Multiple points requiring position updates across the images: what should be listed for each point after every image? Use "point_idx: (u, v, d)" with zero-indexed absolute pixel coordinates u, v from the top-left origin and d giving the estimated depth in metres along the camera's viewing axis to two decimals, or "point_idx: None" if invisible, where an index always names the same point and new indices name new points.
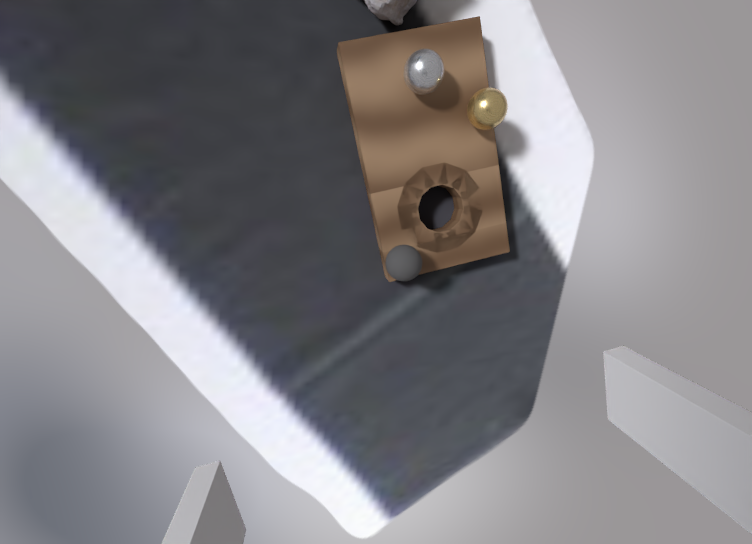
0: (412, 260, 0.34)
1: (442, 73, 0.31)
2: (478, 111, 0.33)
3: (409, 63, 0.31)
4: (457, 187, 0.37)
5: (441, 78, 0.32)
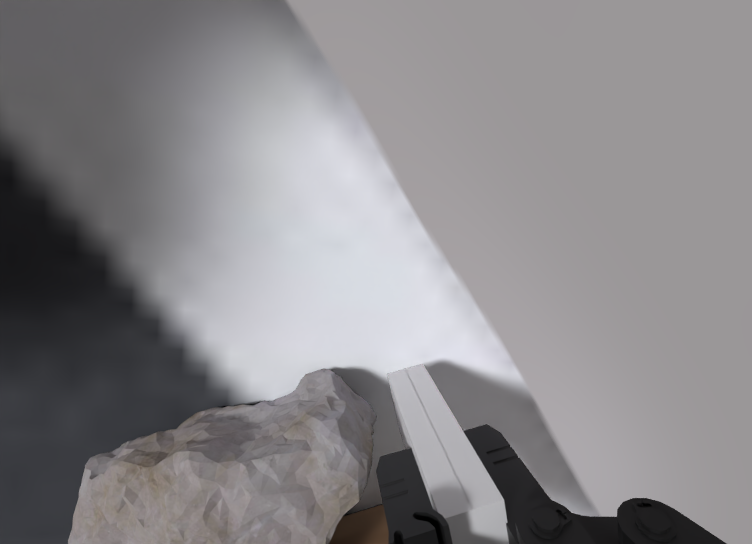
0: None
1: None
2: None
3: None
4: None
5: None
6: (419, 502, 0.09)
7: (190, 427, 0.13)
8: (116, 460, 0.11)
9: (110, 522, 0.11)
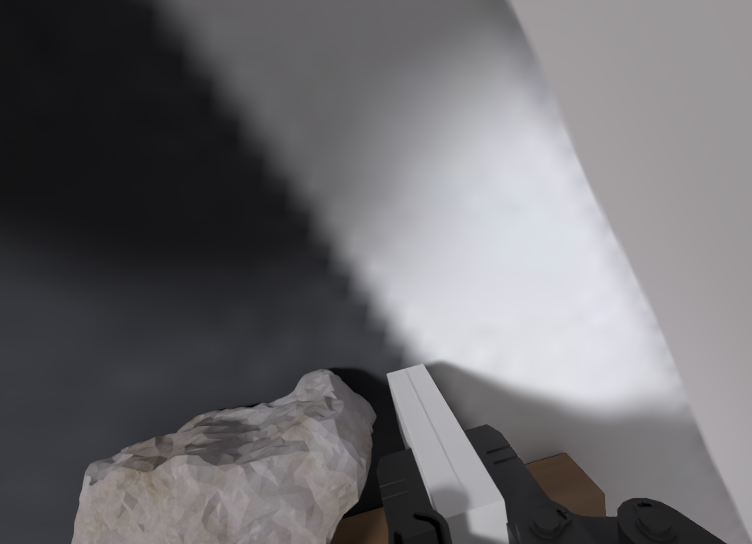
0: None
1: None
2: None
3: None
4: None
5: None
6: (419, 503, 0.09)
7: (189, 431, 0.13)
8: (115, 466, 0.11)
9: (111, 528, 0.11)
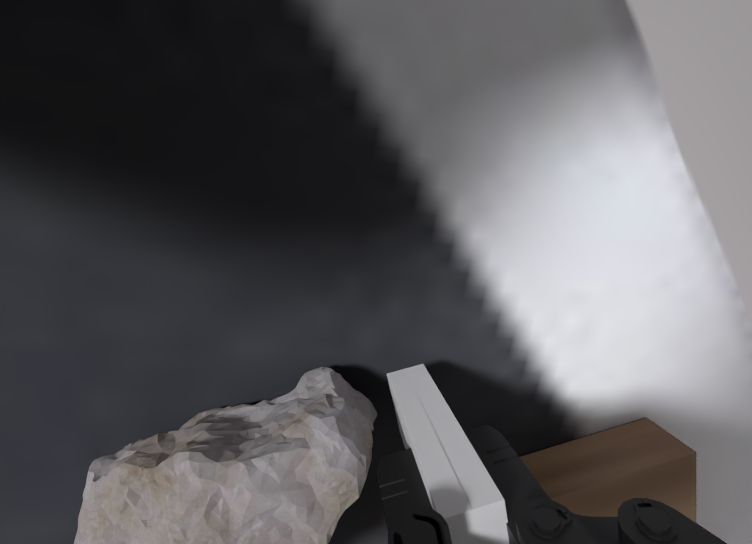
0: None
1: None
2: None
3: None
4: None
5: None
6: (418, 503, 0.09)
7: (191, 428, 0.13)
8: (118, 462, 0.11)
9: (114, 523, 0.11)
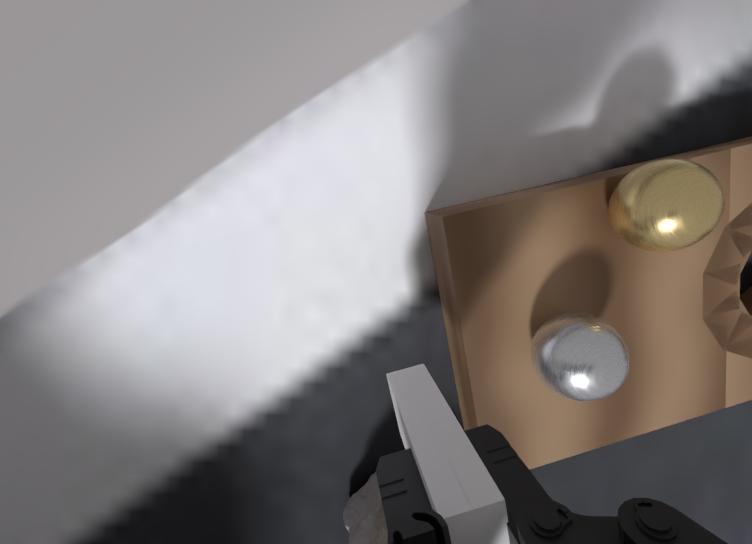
0: None
1: (608, 334, 0.14)
2: (694, 243, 0.14)
3: None
4: None
5: (613, 332, 0.14)
6: (418, 503, 0.09)
7: None
8: None
9: None
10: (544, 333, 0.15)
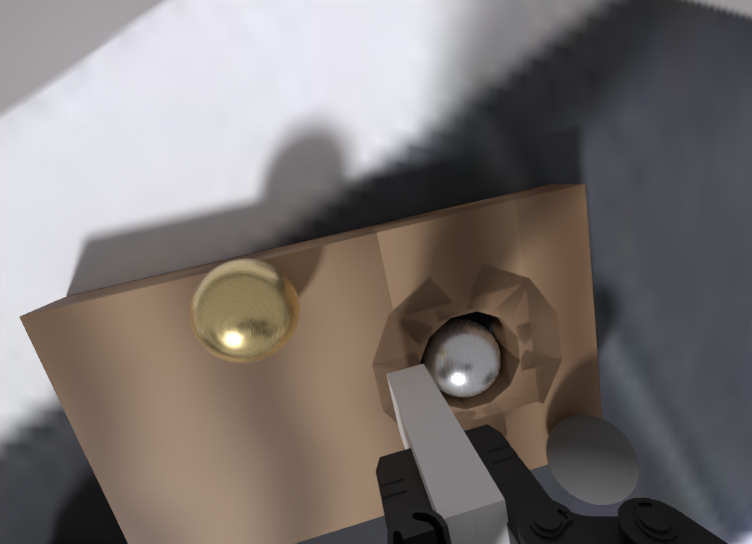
0: (607, 478, 0.15)
1: (483, 327, 0.17)
2: (257, 358, 0.12)
3: (479, 393, 0.17)
4: (427, 329, 0.16)
5: (481, 325, 0.17)
6: (418, 503, 0.09)
7: None
8: None
9: None
10: (445, 347, 0.16)
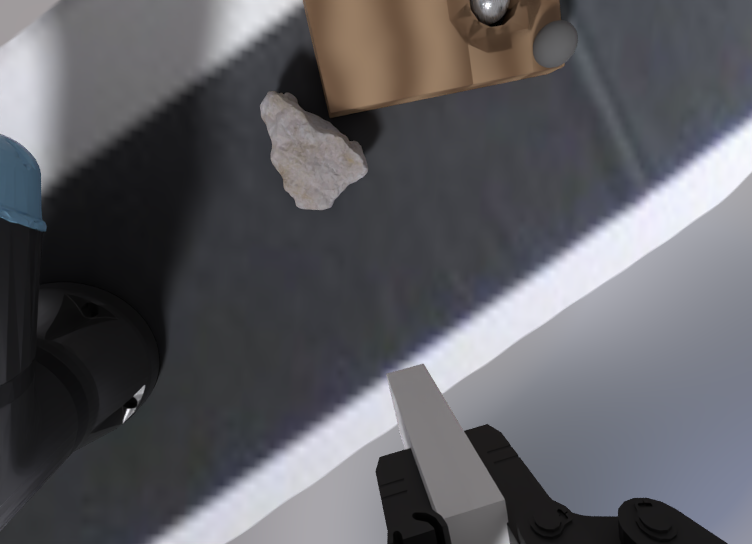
0: (560, 31, 0.30)
1: None
2: None
3: (499, 13, 0.32)
4: None
5: None
6: (418, 503, 0.09)
7: None
8: None
9: (304, 189, 0.32)
10: None
